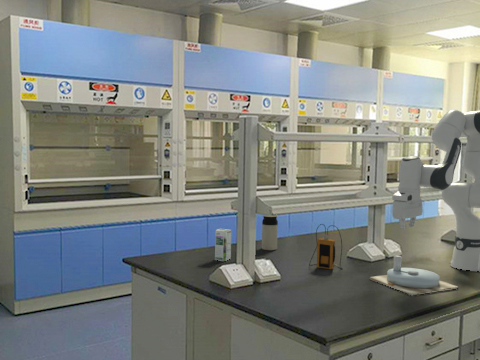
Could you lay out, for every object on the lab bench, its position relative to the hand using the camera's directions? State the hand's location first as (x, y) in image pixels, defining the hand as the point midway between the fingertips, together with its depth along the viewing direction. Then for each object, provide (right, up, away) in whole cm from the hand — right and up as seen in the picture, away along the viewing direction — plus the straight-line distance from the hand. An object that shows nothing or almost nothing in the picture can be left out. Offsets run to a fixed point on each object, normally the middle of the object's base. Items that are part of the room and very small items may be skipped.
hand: (407, 227), depth 213 cm
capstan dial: (-1, -21, -8) cm, 22 cm away
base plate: (-1, -22, -8) cm, 23 cm away
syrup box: (-78, -18, +25) cm, 84 cm away
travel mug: (-55, -16, +51) cm, 77 cm away
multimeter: (-30, -20, +17) cm, 40 cm away
